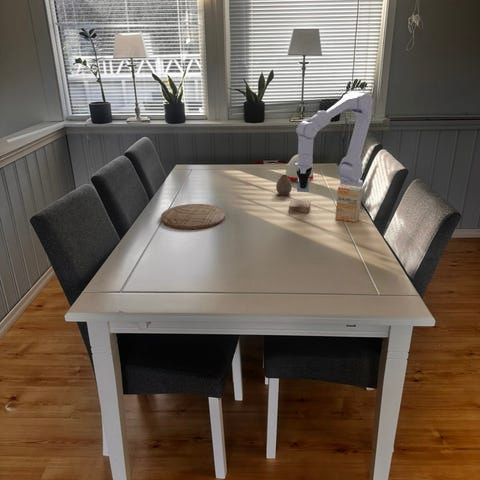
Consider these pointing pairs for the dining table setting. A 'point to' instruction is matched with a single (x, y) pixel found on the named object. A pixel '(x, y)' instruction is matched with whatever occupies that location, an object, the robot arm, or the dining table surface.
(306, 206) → the base
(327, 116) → the robot arm
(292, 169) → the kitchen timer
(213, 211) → the trivet
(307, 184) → the cube
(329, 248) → the dining table surface
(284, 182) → the vase
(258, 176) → the dining table surface
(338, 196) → the supplement box
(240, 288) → the dining table surface
